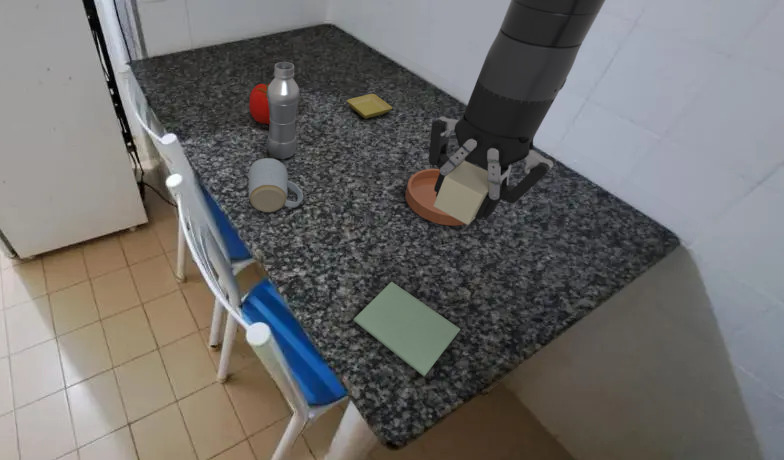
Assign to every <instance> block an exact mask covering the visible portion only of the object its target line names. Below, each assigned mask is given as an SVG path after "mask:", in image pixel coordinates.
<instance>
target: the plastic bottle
mask: <svg viewBox="0 0 784 460" xmlns="http://www.w3.org/2000/svg"><path fill="white" fill-rule="evenodd" d="M273 77H274V78H273V79H272V80H271V81H270V83H269V84H270V85H269V86H268V89H267V99H268V105H269V116H270V125H268V126H269V127H268V136H267V141H266V147H267V151H268V153H269V154H270V155H271V156H272V157H273V158H274V159H278V160H284V159H289V158H291V157H292V156H293V155H294V154H295V153H296V151H297V148H298V138H297V130H296V129H297V128H296V119H297V118H296V117H297V111H298V106H299V102H300V93H301V91H300V88H299V86H298V83H297V82H296V81H295V79H294V77H295V65H294V63H292V62H289V61H280V62H276V63H275V64H274V71H273Z"/></svg>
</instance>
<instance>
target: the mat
mask: <svg viewBox="0 0 784 460" xmlns="http://www.w3.org/2000/svg"><path fill="white" fill-rule="evenodd" d="M353 321H354V322H355V323H356V324H357V325H358V326H360V327H361V328H362V329H364V330H365V331H366V332H368V334H370V335H371V336H372V337H373V338H375V339H376V340H377V341H378V342H380V343H381V344H382V345H383V346H385V347H386V348H387V349H389V350H390V351H391V352H392V353H394V354H395V355H396V356H397V357H398V358H400V359H401V360H402V361H403V362H405V363H406V364H407V365H409V366H410V367H411V368H413V369H414V370H415V371H416V372H417V373H419V374H420V375H421V376H422V377H425V376H426V375H428V373H429V371H430V370H431V369H432V368H433V366H434V365H435V363H436V362H437V361H438V359H439V358H440V357H441V356H442V354H443V353H444V352H445V350H447V348H448V347H449V345H450V344H451V343H452V341H454V340H455V338H456V337H457V335H458V333H460V331H461V328H460V327H459V326H457V325H456V324H454V323H452V322H451V321H449V320H448V319H446V317H444V316H443V315H441V314H439V313H438V312H437V311H436V310H434V309H432V308H431V307H429V306H428V305H426V304H425V303H423V302H422V301H421V300H419V299H418V298H416V297H415V296H414V295H412V294H410V293H409V292H407V291H406V290H405V289H403V288H402V287H401V286H399V285H398V284H396V283H395V282H393V281H390V282H389V283H388V284H387V285H386V286H385V287H384V288H383V289H382V290H381V291H380V292H379V293H378V294H377V295H376V296H375V297H374V298H373V299H372V300H371V301H370V302H369V303H368V304H367V305H366V306H365V307H364V308H363V309H362V310H361V311H360V312H359V313H358V314H357V315H356V316H355V317H354V318H353Z"/></svg>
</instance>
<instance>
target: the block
mask: <svg viewBox="0 0 784 460" xmlns="http://www.w3.org/2000/svg"><path fill="white" fill-rule="evenodd" d="M487 175H488V171H487V170H484V169H482V168H481V167H480V166H478V165H476V164H472V163H469V162H467V161H465V160H464V161H463V162H462V163H461V164H460V165H459V166H457V167H456V168H455V169H454V170H453V171H451V172H450V173H449V174H448V175H446V176H445V178H444V180H443V183H442V185H441V188H440V190H439V193H438V195H437V198H436V200H435V203H434V205H433V206H434V207H436V208H438V209H439V210H441V211H443V212H445V213H447V214H449V215H450V216H452V217H454V218H456V219H458V220H460V221H461V222H463V223H465V224H464V225H467V226H469V225H470V224H471V223H472V222H473V221H474V220H475V219H476V218H475V216H476V214H477V212H478V210H479V208H480V206H481V204H482V202H483V200H484V198H485V197H486V196H487V195H488V194H489V182H488V181H487Z"/></svg>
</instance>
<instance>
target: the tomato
mask: <svg viewBox="0 0 784 460" xmlns="http://www.w3.org/2000/svg"><path fill="white" fill-rule="evenodd" d="M269 85H270V83H258V84H257V85H255V86H254V88H252V90H251V92H250V94H249V104H248V107H249V113H250V115H251V116H252V119H254V121H256V122H257V123H259V124H260V125H266V124H267V125H268V126H270V116H269V105H268V99H267V89H268V86H269Z"/></svg>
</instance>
